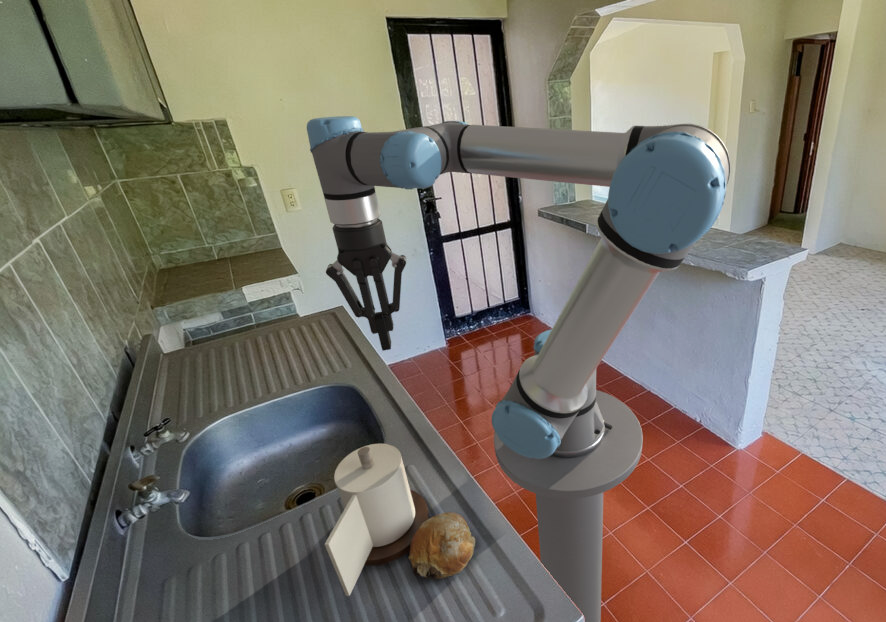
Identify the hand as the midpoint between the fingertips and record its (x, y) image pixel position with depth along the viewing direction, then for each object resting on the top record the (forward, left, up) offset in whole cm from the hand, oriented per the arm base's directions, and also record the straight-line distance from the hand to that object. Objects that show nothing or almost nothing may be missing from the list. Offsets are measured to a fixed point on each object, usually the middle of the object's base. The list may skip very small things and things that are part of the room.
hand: (386, 346), depth 84 cm
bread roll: (-5, +27, -25) cm, 37 cm away
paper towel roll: (+6, +22, -23) cm, 32 cm away
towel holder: (+4, +19, -24) cm, 31 cm away
